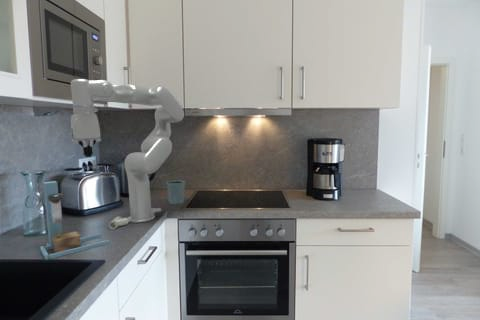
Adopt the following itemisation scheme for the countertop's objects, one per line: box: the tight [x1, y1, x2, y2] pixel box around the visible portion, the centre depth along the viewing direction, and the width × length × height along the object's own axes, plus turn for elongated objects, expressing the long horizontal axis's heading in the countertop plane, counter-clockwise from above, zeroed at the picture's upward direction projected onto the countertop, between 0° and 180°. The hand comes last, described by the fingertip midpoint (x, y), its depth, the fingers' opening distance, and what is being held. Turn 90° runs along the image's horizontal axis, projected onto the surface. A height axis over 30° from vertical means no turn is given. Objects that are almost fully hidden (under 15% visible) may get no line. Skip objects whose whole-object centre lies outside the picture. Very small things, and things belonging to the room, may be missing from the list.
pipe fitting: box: [108, 215, 130, 230], centre depth 140 cm, size 8×4×7 cm
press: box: [40, 180, 110, 261], centre depth 117 cm, size 21×16×24 cm
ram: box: [48, 193, 64, 223], centre depth 112 cm, size 5×5×10 cm
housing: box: [52, 231, 82, 253], centre depth 115 cm, size 8×6×6 cm
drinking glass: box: [166, 179, 186, 205], centre depth 180 cm, size 10×10×12 cm
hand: (88, 156), depth 129 cm, fingers closed
